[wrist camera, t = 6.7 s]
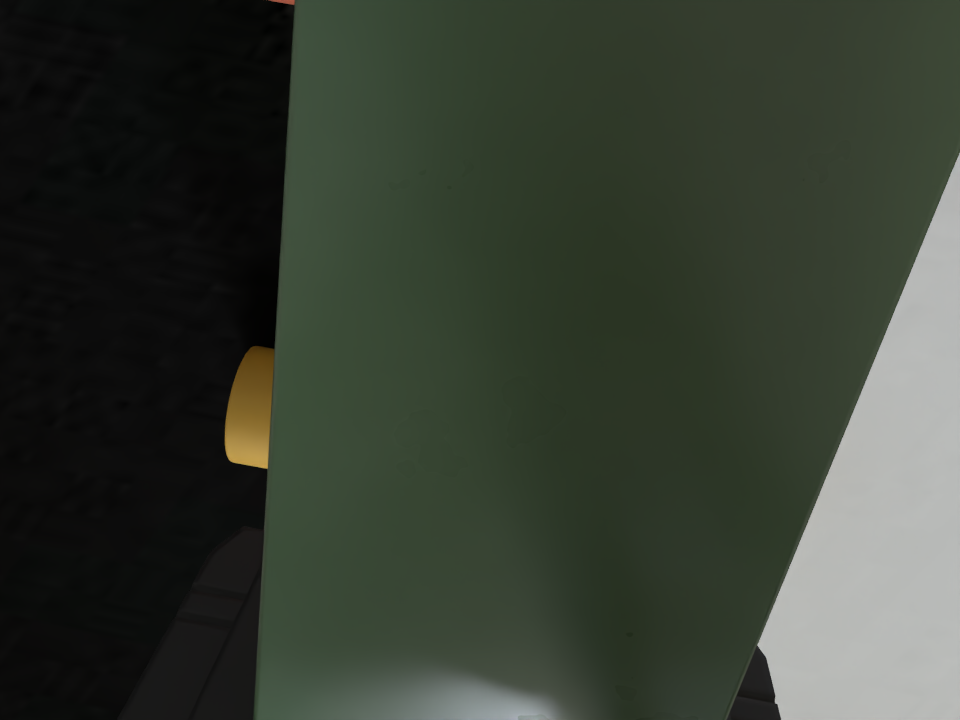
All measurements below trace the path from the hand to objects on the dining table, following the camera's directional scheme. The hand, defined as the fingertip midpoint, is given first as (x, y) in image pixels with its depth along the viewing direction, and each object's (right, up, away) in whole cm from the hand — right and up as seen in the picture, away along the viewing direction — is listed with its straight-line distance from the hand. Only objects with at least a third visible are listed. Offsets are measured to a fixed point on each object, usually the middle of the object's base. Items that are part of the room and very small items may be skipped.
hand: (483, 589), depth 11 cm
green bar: (0, 0, 0) cm, 0 cm away
